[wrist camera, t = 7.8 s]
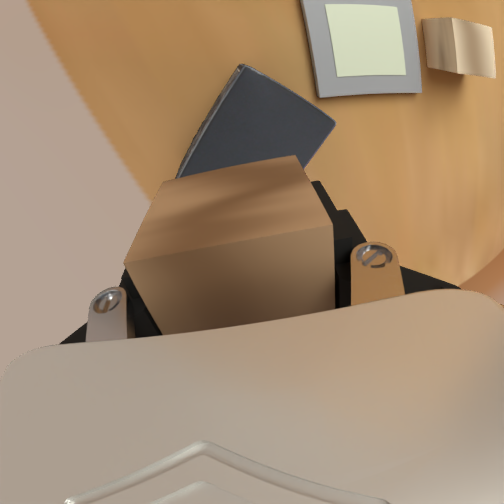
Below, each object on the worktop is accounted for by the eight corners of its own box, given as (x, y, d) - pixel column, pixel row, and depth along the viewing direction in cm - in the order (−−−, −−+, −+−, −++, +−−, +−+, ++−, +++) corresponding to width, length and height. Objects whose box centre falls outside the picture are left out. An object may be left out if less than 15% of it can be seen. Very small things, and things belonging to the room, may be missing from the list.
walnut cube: (295, 154, 11) (332, 223, 7) (307, 262, 14) (334, 353, 10) (163, 181, 11) (123, 263, 7) (198, 281, 14) (188, 375, 10)
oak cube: (459, 25, 18) (491, 27, 14) (464, 70, 21) (495, 78, 17) (420, 19, 18) (451, 17, 14) (426, 67, 21) (457, 73, 17)
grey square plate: (404, -7, 17) (409, -8, 16) (416, 91, 23) (422, 93, 22) (297, -10, 18) (300, -13, 17) (317, 96, 24) (320, 97, 23)
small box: (242, 193, 29) (244, 261, 20) (180, 162, 27) (152, 219, 18) (305, 100, 24) (343, 125, 15) (239, 61, 22) (240, 60, 13)
